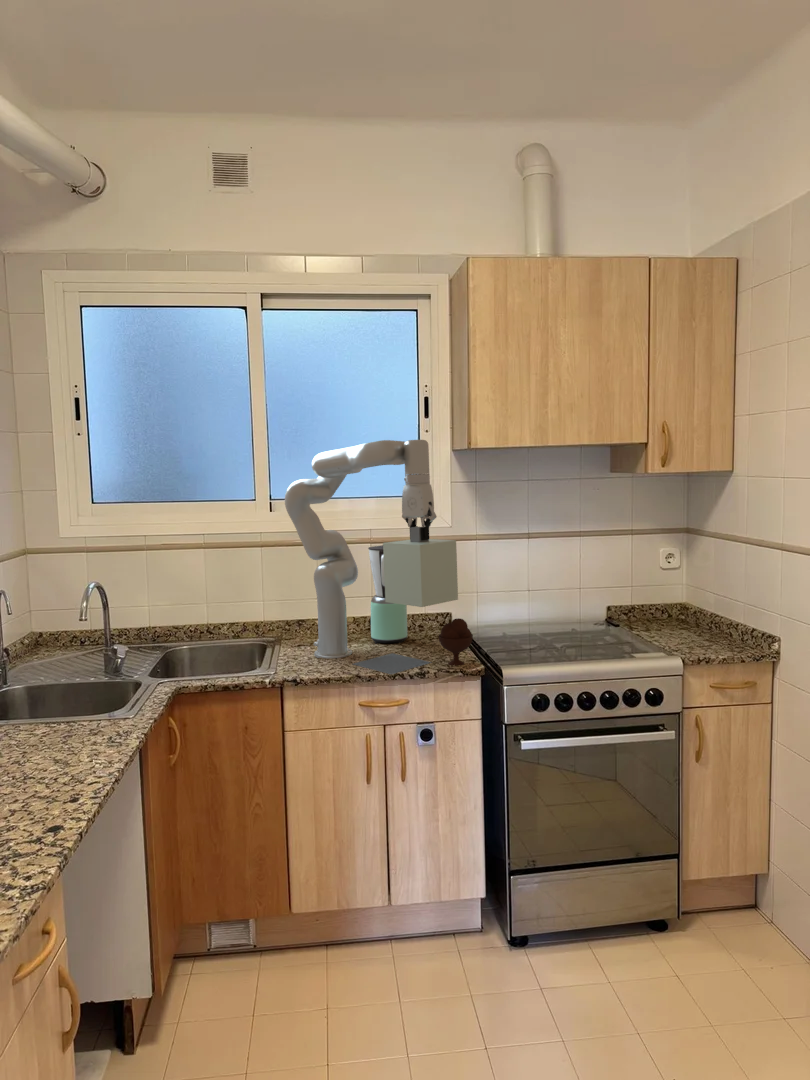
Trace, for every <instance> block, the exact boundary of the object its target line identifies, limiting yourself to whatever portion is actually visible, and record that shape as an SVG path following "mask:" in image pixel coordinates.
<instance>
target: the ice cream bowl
mask: <svg viewBox="0 0 810 1080" xmlns="http://www.w3.org/2000/svg"><path fill="white" fill-rule="evenodd" d="M473 638H474V634H472V632H471V631H470V629H469V628H468V623H467V621H466V620H465V619H463V618H454V619H453V620H452V621H451V622H447V623H446V624H444V625H443V626H442V628H441V630H440V634H438V641H439V644H440V645H441V647H442V648H443V649H445V650H446V651H448V652H449V653H450V652H451V653H452V655H453V659H452V660H450V661H449V662H448V663H447V665H449V666H455V667H456V666H458V667H459V666H463V665H464V664H465V662H464V661H462V660H460V658H459V655H460V653H462V652H464V651H466V650H467V649H468V648H469V647H470V646H471V644H472V642H473Z"/></svg>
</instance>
